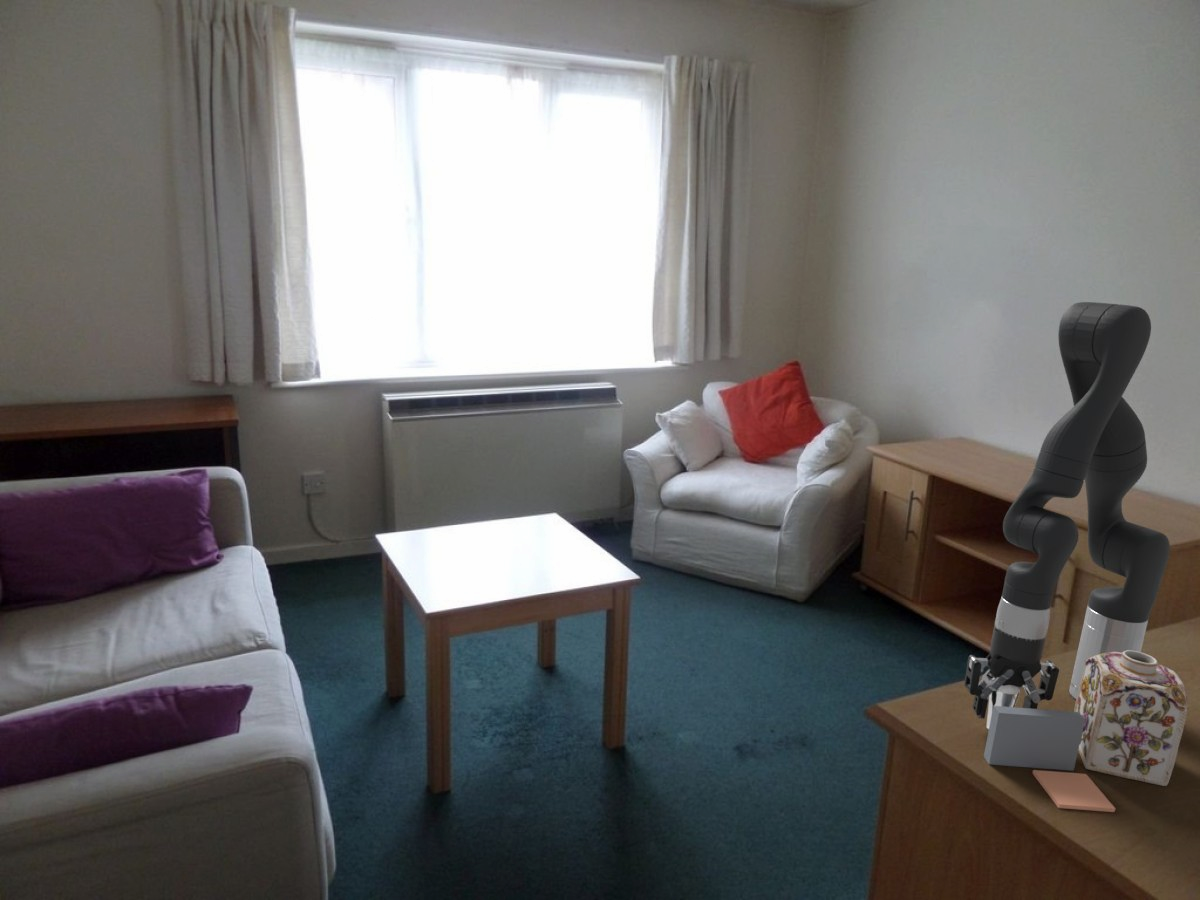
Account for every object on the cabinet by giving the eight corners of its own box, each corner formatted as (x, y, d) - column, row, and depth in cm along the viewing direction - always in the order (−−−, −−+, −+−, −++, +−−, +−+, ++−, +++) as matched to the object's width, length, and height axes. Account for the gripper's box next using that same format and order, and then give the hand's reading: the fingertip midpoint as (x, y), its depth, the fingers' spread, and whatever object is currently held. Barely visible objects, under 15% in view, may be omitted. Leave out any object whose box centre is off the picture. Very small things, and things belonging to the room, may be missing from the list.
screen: (1067, 762, 129) (1078, 712, 127) (1073, 770, 128) (1085, 719, 125) (983, 756, 130) (993, 705, 128) (988, 764, 128) (998, 712, 126)
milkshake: (1020, 739, 135) (1031, 685, 133) (985, 734, 136) (996, 679, 134) (1012, 724, 139) (1023, 671, 137) (979, 719, 140) (989, 666, 138)
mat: (1085, 777, 126) (1086, 773, 126) (1114, 812, 118) (1115, 808, 118) (1032, 773, 126) (1033, 769, 126) (1058, 807, 119) (1059, 804, 118)
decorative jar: (1082, 770, 128) (1106, 665, 124) (1067, 730, 139) (1088, 633, 134) (1171, 789, 124) (1199, 682, 120) (1148, 747, 135) (1173, 647, 131)
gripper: (1054, 619, 136) (1035, 708, 140) (966, 613, 137) (950, 702, 141) (1077, 641, 129) (1057, 734, 133) (985, 634, 129) (967, 727, 133)
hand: (1002, 717), depth 137 cm, fingers open, 7 cm apart
